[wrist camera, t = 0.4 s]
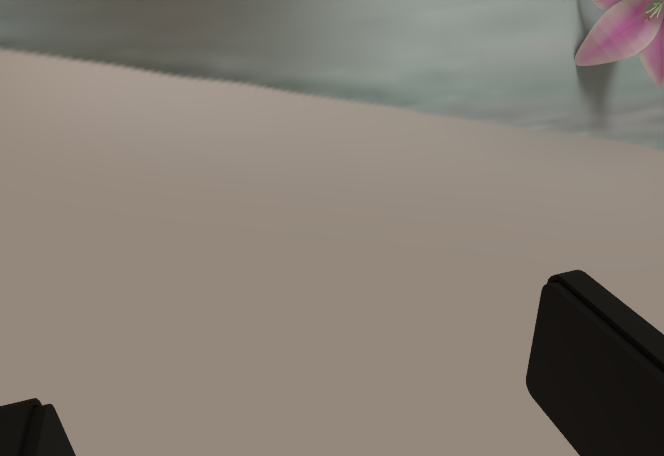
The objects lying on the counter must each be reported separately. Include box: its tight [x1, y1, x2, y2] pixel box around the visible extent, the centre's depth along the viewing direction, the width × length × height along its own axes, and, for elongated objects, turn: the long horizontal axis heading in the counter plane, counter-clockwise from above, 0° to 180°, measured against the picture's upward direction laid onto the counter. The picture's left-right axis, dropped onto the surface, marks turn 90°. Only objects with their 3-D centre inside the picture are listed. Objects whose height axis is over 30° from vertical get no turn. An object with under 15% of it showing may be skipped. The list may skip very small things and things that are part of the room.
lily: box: [574, 0, 664, 87], centre depth 40 cm, size 12×12×10 cm
